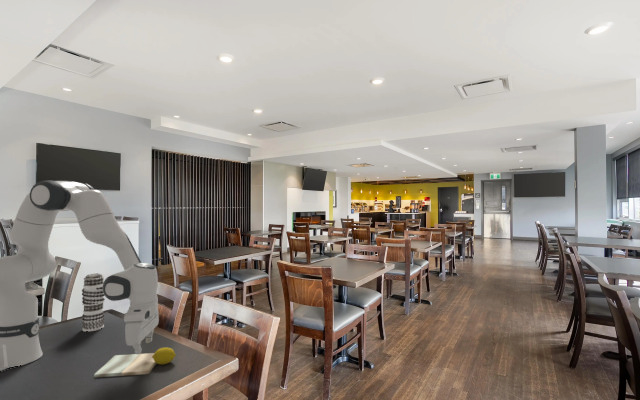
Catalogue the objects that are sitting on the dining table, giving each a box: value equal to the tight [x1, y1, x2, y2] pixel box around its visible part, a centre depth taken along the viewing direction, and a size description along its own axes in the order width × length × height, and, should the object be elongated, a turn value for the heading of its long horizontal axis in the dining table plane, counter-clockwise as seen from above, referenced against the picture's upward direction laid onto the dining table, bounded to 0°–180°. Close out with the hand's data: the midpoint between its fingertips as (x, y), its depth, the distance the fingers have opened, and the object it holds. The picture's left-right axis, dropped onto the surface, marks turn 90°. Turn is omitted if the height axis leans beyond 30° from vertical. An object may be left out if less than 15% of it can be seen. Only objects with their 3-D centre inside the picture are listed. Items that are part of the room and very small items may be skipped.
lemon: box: [152, 347, 176, 365], centre depth 118 cm, size 6×6×8 cm
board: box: [93, 352, 157, 378], centre depth 117 cm, size 17×14×1 cm
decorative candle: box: [81, 273, 105, 332], centre depth 153 cm, size 9×9×25 cm
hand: (143, 347), depth 117 cm, fingers open, 8 cm apart
